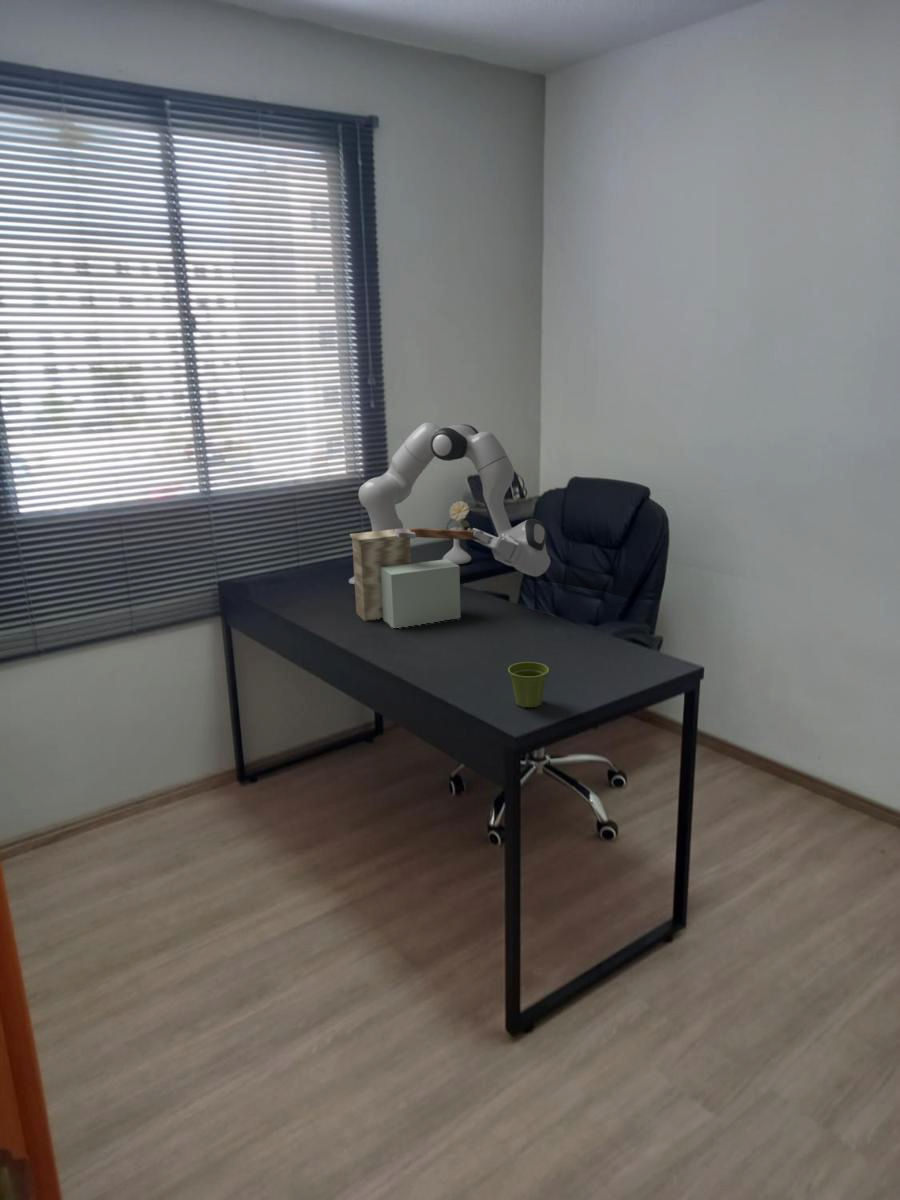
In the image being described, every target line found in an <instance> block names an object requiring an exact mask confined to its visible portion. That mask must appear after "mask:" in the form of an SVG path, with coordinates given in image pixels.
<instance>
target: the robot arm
mask: <svg viewBox="0 0 900 1200" xmlns="http://www.w3.org/2000/svg"><path fill="white" fill-rule="evenodd" d="M434 458H437V459H439V460H442V461H446V462H448V461H454V460H461V459H463V458H468V459H469V460H470V461H471V462H472V464H473V466H474V469H475V470H476V471H477V473H478V476H479V478H480V482H481V486H482V493H481V495H482V501H483V504H484V507H485V509H486V513H487V515H488V518H489V521H490V523H491V527H492V529H493V532H494V535H492V534H490V533H489V532H488V533H487V532H485V531H483V530H481V529H478V528H475V527H473V528H471V527H468V528H467V530H471V531H473V533H472V535H473V536H475V537H477V538H479V539H480V540H473V541H475V542H477V543H479V544H481V545H483V546H485V547H487V548H489V549H491V552H492V554H493V558H494V559H495V560H496V561H498V562H500V563H501V564H504V565H506V566H509V567H513V568H514V569H515V570H517V571H519V572H521V573H522V574H525V575H527V576H531V577H539V576H542V575H544V574H545V573H546V572H547V570H549V568H550V564H551V558H550V556H549V554H548V552H547V547H546V540H547V530H546V527H545V526H544V524H543V523H542V522H541V521H540V520H538V519H536V518H528V519H526V520H524V521H521V523H519V524H517V525H515V526H513V527H512V524H511V522H510V520H509V517H508V514H507V511H506V508H505V505H504V499H505V496H506V494H507V492H508V490H509V488H510V487H511V485H512V483H513V481H514V477H515V471H514V470H515V469H514V467H513V464H512V462H511V460H510V458H509V455H508V454H507V453H506V451H505V449H504V447H503V445H502V444H501V443H500V441H499V440H498V438H497V437H496V436H495V435H494V434H493V433H492V432H490V431H480V432H479V431H478V429H476V428H475V427H474V426H473V425H470V424H454V425H450V426H446V427H442V428H441V427H440V426H438V425H437V424H436V423H434V422H429V421H427V422H423V423H422V424H421V425H419V426H418V427H417V428H416V429H415V430H414V431H412V433H410V435H408V437H407V438H406V439H405V441H404V442H403V443H402V444H401V446H400V447H399V448H398V449H397V450H396V452H395V453H394V454H393V456H392V458H391V463H390V465H389V467H388V469H387V470H386V471H385V473H383V474H382V475H380V476H375V477H373V478H370V479H368V480H367V481H365V482H364V483H363V484H362V485H361V486H360V487H359V489H358V501H359V502H360V504H361V505H362V506H363V508H365V509H366V512H367V514H368V517H369V520H370V525H371V532H373V531H382V530H392V529H404V524H403V522H402V520H401V519H400V518H399V516H398V513H397V509H396V505H398V504H400V503H402V502H404V501H405V500H406V499H407V498H409V496H410V495H411V493H412V491H413V486H414V485H415V483H416V481H417V479H418V478H419V476H420V475H421V474H422V473H423V471H424V470H425V469H426V468H427V466H429V465H430V463H431V462H432V460H433V459H434ZM478 531H482V532H483V534H482V533H480V532H478ZM348 583H349V584H352V585H355V579H354V576H352V577H351V578H349V579H348Z"/></svg>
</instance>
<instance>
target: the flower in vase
mask: <svg viewBox="0 0 900 1200" xmlns="http://www.w3.org/2000/svg"><path fill="white" fill-rule="evenodd" d="M469 512H470V507H469V504H468V503H466V502H465V501H462V500H460V501H456V502H453V503H452V505H450V508H449V517H450V519H452V520H453V521H452V520H450V522H451V523H453V524H455V525H457V527H450V528H449V530H464V529H463V528H465V527H470V526H471V525H470V524H469V522H468V521H467V520H464V519H466V518H467V516H468V514H469ZM454 520H455V521H456V522H455V521H454ZM458 521H460V523H459V524H457V522H458ZM460 525H461V526H462V527H463V528H462V527H460ZM444 559H448V560H449V561H451V562H453V563H455V564H457V565H463V564H467V563H469V562H471V560H472V557H471V555H470V554H469V553H468V552H467V551H465V550H464V549H462V547H461V545H460V539H453V546H452V548H451V549H450V550H449V551H448V552H446V553H445V554H444V555H443V557H442V559H441V560H444Z"/></svg>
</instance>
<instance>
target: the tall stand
mask: <svg viewBox="0 0 900 1200" xmlns="http://www.w3.org/2000/svg"><path fill="white" fill-rule="evenodd" d="M394 533H395V529H392V530H382V531H373V532H372V531H364V532H358V533H357V532H356V533H355V532H354V533H350V534H349V537H350V538H351V539H352V540H351V544H352V558H353V559H352V561H353V577H354V579H355V584H354V594H355V595H354V596H355V611H356V615H357V616H358V617H360V618H361V620H363V622H368V621H369V620H370V621H374V620H375V621H377V620H381V619H380V618H383V606H382V586H381V567H387V566H395V565H404V564H412V557H411V556H412V553H411V549H412V548H411V538H399V537H397V536H396V535H395V534H394ZM376 619H377V620H376ZM370 621H369V622H370Z"/></svg>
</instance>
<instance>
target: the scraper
mask: <svg viewBox="0 0 900 1200" xmlns="http://www.w3.org/2000/svg"><path fill="white" fill-rule="evenodd" d="M482 531H483V530H481V531H478V532H480V533H482V534H483V532H484V531H483V532H482ZM472 533H473V531H471V530H468V529H462V530H450V529H446V528H445V529H444V528H422V527H409V528H408V529H407V528H403V529H395V533H394V534H395V535H396V536H397V537H399V538H410V539H416V538H426V539H447V540H448V539H450V540H451V539H452V540H454V539H459V540H473V541H474V540H480V539H479V538H477V537H475V536H473V535H472Z"/></svg>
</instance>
